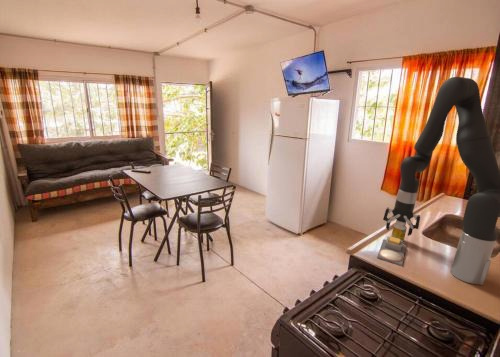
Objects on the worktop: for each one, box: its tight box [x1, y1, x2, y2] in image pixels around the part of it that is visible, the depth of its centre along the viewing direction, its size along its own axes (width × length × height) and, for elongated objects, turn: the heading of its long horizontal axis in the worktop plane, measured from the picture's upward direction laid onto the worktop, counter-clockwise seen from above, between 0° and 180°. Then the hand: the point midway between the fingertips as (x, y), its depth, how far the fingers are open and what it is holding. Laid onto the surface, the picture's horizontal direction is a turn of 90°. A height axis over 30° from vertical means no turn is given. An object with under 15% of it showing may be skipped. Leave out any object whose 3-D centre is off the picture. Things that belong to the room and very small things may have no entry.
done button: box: [389, 236, 400, 245], centre depth 113 cm, size 4×4×2 cm
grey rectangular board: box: [376, 236, 406, 267], centre depth 110 cm, size 9×18×3 cm, turn 146°
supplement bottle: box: [391, 219, 408, 242], centre depth 120 cm, size 5×5×10 cm
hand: (398, 232), depth 121 cm, fingers open, 8 cm apart
